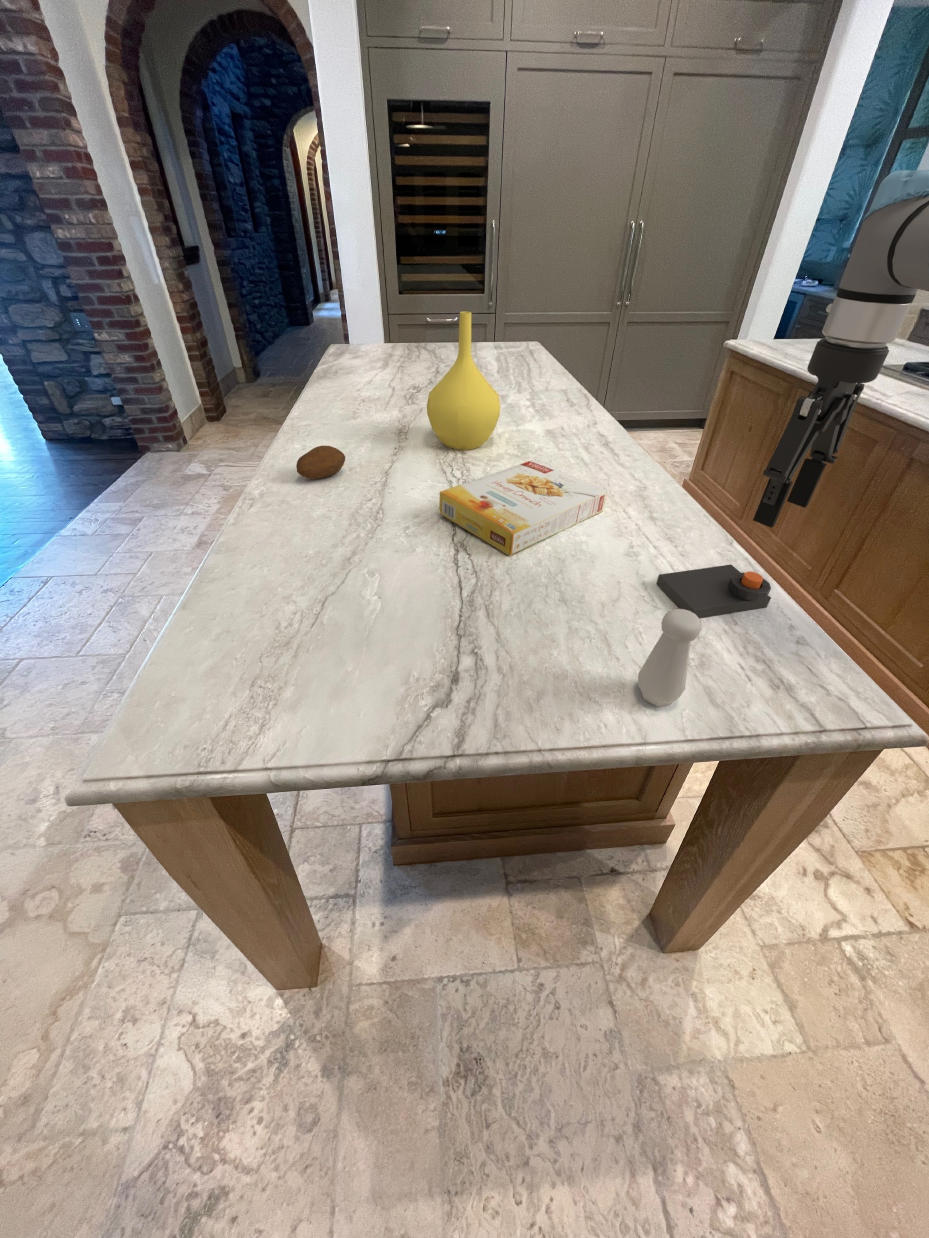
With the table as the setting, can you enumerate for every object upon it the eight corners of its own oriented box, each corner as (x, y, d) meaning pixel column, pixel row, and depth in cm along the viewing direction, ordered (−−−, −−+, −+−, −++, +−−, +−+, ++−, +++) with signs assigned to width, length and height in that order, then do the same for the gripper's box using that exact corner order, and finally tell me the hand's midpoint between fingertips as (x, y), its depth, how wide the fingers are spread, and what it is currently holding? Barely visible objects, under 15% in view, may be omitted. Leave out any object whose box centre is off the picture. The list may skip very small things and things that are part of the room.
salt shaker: (634, 675, 72) (658, 597, 64) (678, 683, 71) (708, 605, 63) (633, 706, 68) (658, 626, 60) (680, 715, 67) (712, 636, 59)
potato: (291, 480, 119) (285, 449, 114) (334, 466, 125) (330, 436, 121) (309, 489, 115) (303, 458, 111) (352, 474, 122) (348, 444, 118)
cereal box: (437, 490, 103) (534, 455, 118) (437, 516, 106) (531, 478, 122) (514, 532, 92) (610, 486, 107) (511, 559, 95) (604, 511, 110)
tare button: (751, 578, 86) (755, 570, 85) (763, 588, 84) (767, 580, 83) (737, 580, 85) (740, 572, 84) (748, 590, 83) (752, 582, 82)
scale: (729, 573, 93) (736, 556, 91) (770, 608, 85) (778, 590, 83) (655, 583, 90) (661, 566, 88) (691, 621, 82) (698, 603, 80)
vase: (511, 442, 140) (522, 312, 122) (468, 462, 129) (473, 323, 110) (457, 426, 149) (459, 303, 130) (412, 444, 137) (407, 312, 119)
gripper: (858, 326, 71) (790, 485, 85) (778, 346, 60) (715, 525, 74) (923, 336, 66) (840, 502, 80) (849, 359, 55) (768, 547, 69)
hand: (780, 513), depth 77 cm, fingers open, 9 cm apart
